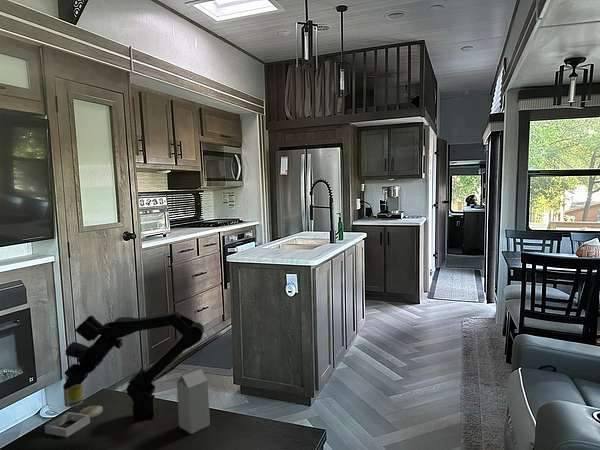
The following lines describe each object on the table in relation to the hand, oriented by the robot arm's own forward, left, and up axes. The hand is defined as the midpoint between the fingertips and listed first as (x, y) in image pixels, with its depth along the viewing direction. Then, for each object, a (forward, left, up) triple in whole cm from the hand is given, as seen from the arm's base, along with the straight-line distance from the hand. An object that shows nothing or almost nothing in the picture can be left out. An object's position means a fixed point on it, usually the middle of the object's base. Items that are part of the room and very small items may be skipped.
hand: (68, 384), depth 139 cm
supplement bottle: (-1, 0, -7) cm, 7 cm away
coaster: (-4, -6, -13) cm, 15 cm away
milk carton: (-42, +11, -13) cm, 46 cm away
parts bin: (0, +3, -13) cm, 14 cm away
